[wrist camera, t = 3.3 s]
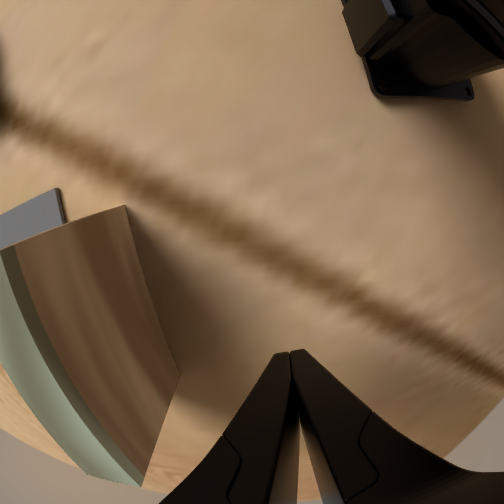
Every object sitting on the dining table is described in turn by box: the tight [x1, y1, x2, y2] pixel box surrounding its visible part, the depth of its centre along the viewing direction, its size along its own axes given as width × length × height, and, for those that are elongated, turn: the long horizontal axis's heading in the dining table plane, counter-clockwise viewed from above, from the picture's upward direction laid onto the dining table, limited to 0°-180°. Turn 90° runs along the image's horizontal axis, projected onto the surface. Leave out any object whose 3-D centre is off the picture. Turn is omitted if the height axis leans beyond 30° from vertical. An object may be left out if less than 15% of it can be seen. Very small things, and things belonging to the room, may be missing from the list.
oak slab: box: [0, 205, 180, 487], centre depth 10 cm, size 3×10×8 cm, turn 11°
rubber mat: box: [0, 188, 66, 249], centre depth 15 cm, size 10×14×1 cm
